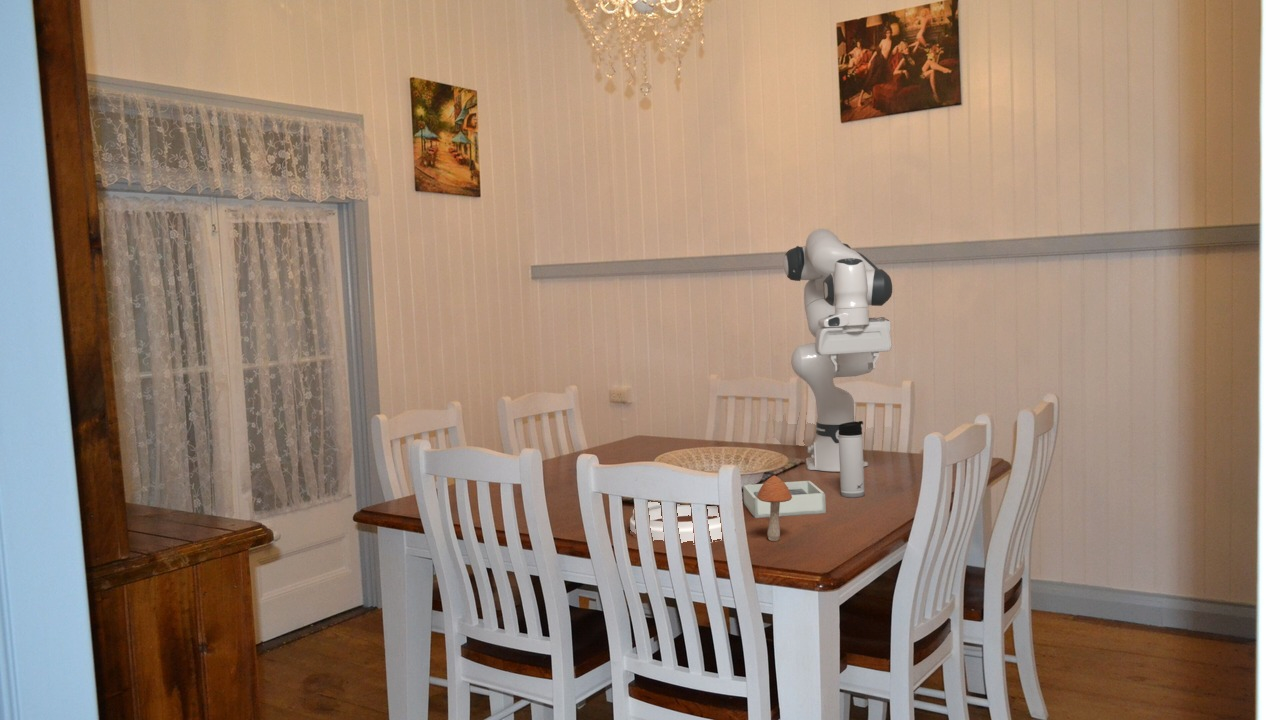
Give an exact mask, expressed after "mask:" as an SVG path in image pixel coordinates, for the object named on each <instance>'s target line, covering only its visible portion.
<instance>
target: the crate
mask: <svg viewBox="0 0 1280 720" xmlns="http://www.w3.org/2000/svg"><path fill="white" fill-rule="evenodd" d="M783 482H784V483H785V484H786V486H787V487H788V489H789V491H790V493H791V496H792V499H791V500H789V501H786V502H780V508H779V517H787V516H788V517H790V516H791V517H793V516H802V515H803V516H804V515H805V516H806V515H817V514H819V515H820V514H826V513H827V508H826V507H827V506H826V504H827V503H826V493H825V492H824V491H823V490H822V489H820V488H819V487H818V486H817V485H816V484H815V483H813V482H812V481H811V480H799V481H786V482H785V481H783ZM763 484H764V483H755V484H743V485H742V490H743V491H742V492H743V493H742V494H743V505H744V506H745V507H746V508H747V510H748V511H749V512H750V514H751V515H752V516H753V517H754V519H760V518H761V519H762V518H770V503H771V502H764V501H760V500H759V499H758V498H757V495H758V493H759V490H760V488H761V487H762V485H763Z"/></svg>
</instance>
